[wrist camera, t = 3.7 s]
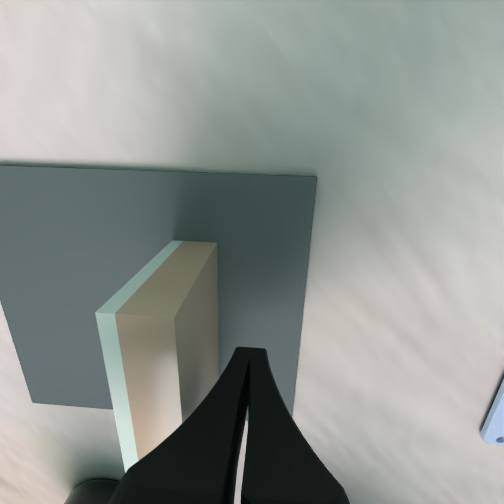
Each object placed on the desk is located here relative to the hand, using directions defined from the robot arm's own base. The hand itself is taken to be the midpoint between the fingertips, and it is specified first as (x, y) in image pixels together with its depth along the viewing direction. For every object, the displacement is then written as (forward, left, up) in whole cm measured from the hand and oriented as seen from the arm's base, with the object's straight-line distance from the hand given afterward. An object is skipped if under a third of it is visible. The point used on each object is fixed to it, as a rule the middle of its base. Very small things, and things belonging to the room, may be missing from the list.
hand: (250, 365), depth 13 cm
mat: (+6, 0, -4) cm, 8 cm away
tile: (+3, 0, -4) cm, 5 cm away
